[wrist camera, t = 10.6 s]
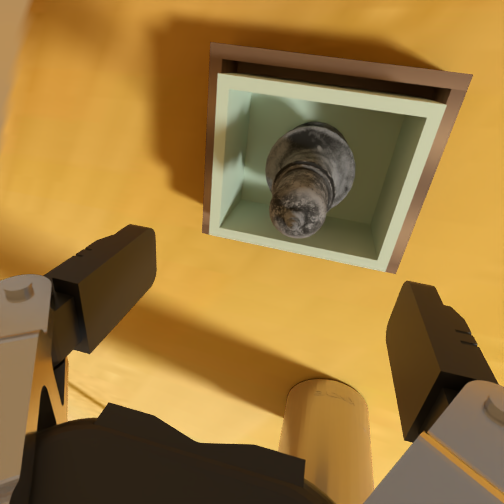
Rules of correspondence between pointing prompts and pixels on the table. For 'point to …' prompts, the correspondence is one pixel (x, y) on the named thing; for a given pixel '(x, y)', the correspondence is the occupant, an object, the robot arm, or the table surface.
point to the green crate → (359, 141)
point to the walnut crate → (350, 75)
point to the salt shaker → (307, 177)
